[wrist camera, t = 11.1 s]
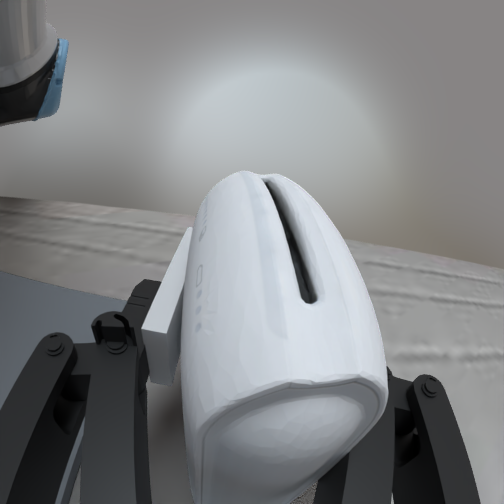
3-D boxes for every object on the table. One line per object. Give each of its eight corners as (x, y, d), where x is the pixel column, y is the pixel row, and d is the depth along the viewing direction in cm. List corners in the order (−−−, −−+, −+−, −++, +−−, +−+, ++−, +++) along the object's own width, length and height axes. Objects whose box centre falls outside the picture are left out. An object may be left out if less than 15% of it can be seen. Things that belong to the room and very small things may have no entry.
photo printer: (189, 357, 17) (201, 141, 11) (259, 359, 18) (308, 154, 12) (188, 525, 9) (147, 378, 2) (286, 521, 9) (487, 354, 3)
